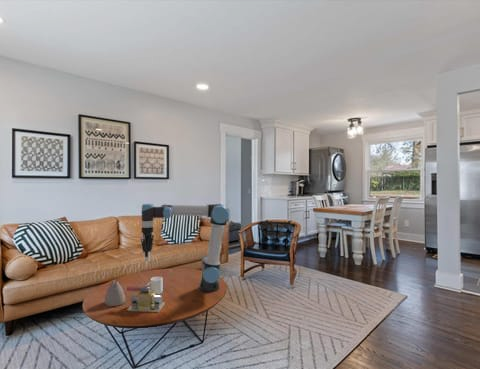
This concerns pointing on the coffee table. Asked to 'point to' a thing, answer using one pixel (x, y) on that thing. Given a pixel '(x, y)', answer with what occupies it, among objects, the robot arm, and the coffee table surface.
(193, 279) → the coffee table surface
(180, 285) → the coffee table surface
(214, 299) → the coffee table surface
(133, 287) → the lever
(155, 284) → the mug
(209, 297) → the coffee table surface
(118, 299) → the sculpture
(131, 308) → the valve body
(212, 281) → the robot arm
